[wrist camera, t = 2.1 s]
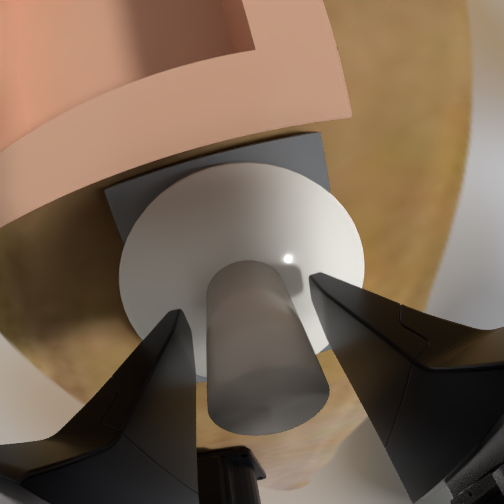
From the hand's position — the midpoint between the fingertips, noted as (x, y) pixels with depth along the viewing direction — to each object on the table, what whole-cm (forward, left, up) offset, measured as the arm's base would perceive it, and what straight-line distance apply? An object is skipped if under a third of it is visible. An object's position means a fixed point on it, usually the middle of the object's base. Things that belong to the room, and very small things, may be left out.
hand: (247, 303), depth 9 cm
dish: (+10, +2, -2) cm, 10 cm away
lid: (0, 0, -1) cm, 1 cm away
